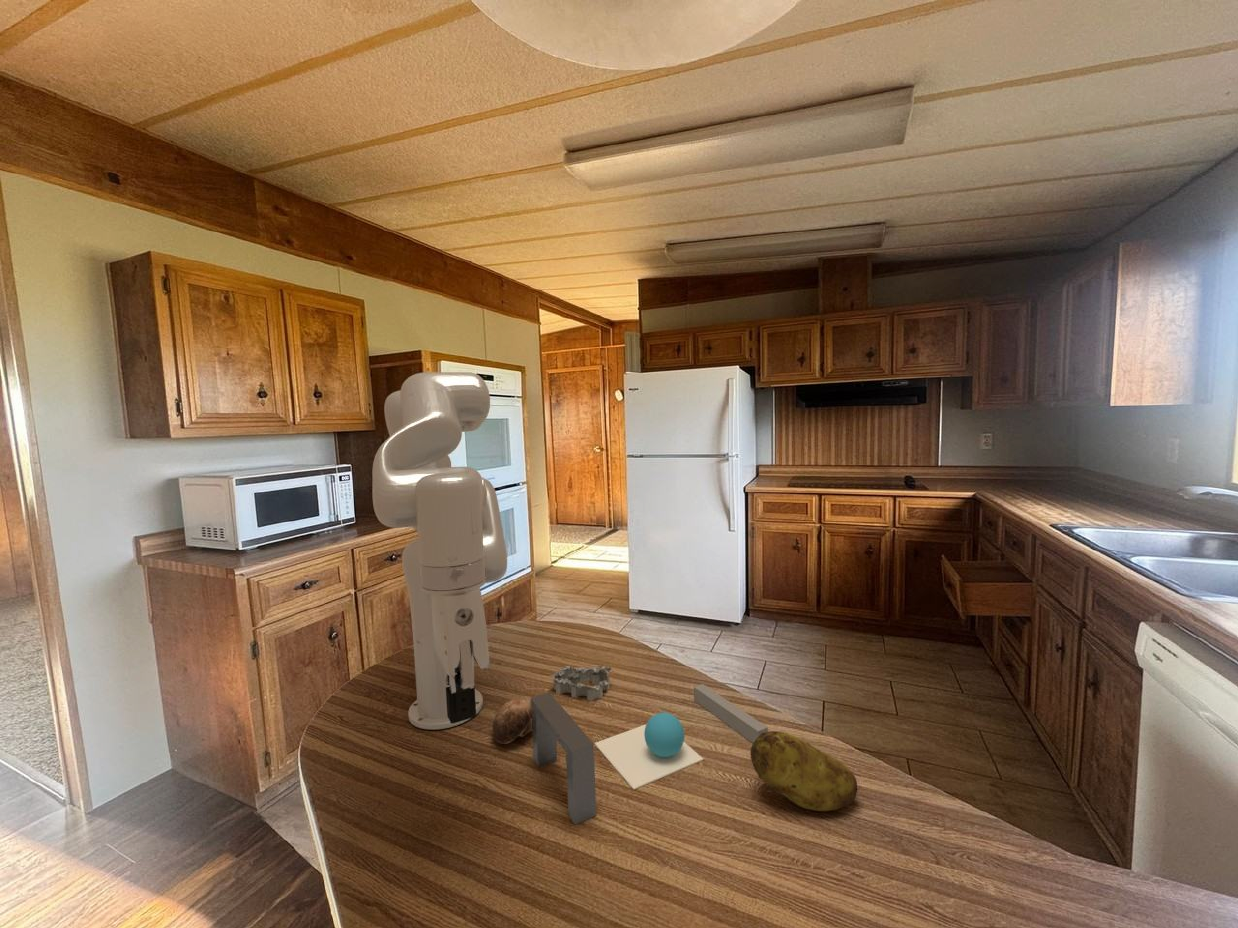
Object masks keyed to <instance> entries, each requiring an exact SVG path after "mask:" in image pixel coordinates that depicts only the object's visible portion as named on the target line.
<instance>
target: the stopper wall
mask: <svg viewBox="0 0 1238 928" xmlns="http://www.w3.org/2000/svg"><path fill="white" fill-rule="evenodd" d="M693 700H694V701H695V702H696V703H697V704H698V705H700V706H701V707H703V708H704V709H705V710H707V711H708V712H709V713H711V714H712V715H714V716H715V717H716V718H718V719H719V720H720V721H722V722H723V723H725V724H726V725H727V726H728V727H730V728H731V729H733V730H734V731H735V732H737V733H738V734H740V735H741V736H742V737H744V738H745V739H747V740H748V741H749V742H751V743H752V744H753V743H754V741H755V740H756V739H757V738H758V737H759V736H760V735H761V733H766V732H769V729H768V728H769V727H768V726H767V725H765V724H764V723H762V722H761V721H759V720H758V719H756V718H754V717H753V716H751V715H750V714H748V713H747V712H745V711H744V710H743V709H741V708H740V707H738V706H736V705H735V704H734V703H732V702H731V701H729V700H727V699H726V698H724V697H723V696H722V695H720V694H719V693H717V692H716V691H715V690H713V689H711V688H710V687H708V686H707V685H705V684H703V683H702V684H698V685H696V686H694V687H693Z"/></svg>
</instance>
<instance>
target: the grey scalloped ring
mask: <svg viewBox="0 0 1238 928" xmlns="http://www.w3.org/2000/svg"><path fill="white" fill-rule="evenodd" d="M611 671H612V668H611V667H608V666H604V665H600V666H597V668H595V667H590V668H588V667H587V668H586V667H585V666H582V667H572V666H570V665H565V666H564V667H561V668H560V669H559V670H557V671H555V672H554V673H553V674H551V675H550V677H551V678H552V679H553V690H554V691H555V694H557V695H562V694H565V693H570V694H571V697H572V698H578V697H579V696H581V697H582V696H584V697H586V698H587V699H586V700H587V701H589V702H590V701H591V702H592V701H594V700H596V699H597V700H598V699H602V698H603V696H604V695H603V692H604V691H609V689H611V685H610V684H611V683H610V681H611V680H610V677H609V675H610V674H611ZM588 681H589V682H590V683H591V684H592V685H593V686H592V687H591V686H588V685H587V684H583V683H584V682H588Z"/></svg>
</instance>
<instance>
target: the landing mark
mask: <svg viewBox="0 0 1238 928" xmlns="http://www.w3.org/2000/svg"><path fill="white" fill-rule="evenodd" d="M645 727H646V724H643V725H640V726H638V727H634V728H632V729H629V730H627V731H624V732H621V733H618V734H616V735H613V736H610V737H608V738H605V739H602V740H599V741H596V742H594V745H595V747H596V748H597V750H599V752H600V753H602V755H603V757H605V758H606V759H607V761H608V762H609V763H610V764H611V765H612V766H613V768H614V769H615V770H616V772H617V773H619V775H620V776H621V777H622V779H624V781H625V782H626V783H627V784H628V785H629V786H630V787H631V789H632V790H637V789H639V788H642V787H644V786H646V785H649V784H651V783H653V782H656V781H658V780H660V779H663V778H665V777H667V776H670V775H672V774H674V773H677V772H680V771H681V770H683V769H686V768H688V767H691V766H693V765H695V764H697V763H699V762H702V761H704V757H702V756H701V755H700V754H699V753H698V752H696V751H695V750H694V748H692V747H690V746H689V745H688V744H687V743H685V741H684V742H683V745H682V747H681V749H680V750H679V751H678V752H677V753H676V754H675V755H673V756H671V757H660V756H657V755H655V754H654V753H653V752H652V751H651V750H650V749H649V748H648V746H647V744H646V741H645V736H644V732H645Z"/></svg>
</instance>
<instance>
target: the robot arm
mask: <svg viewBox="0 0 1238 928" xmlns="http://www.w3.org/2000/svg"><path fill="white" fill-rule="evenodd" d="M400 387H401V388H400V389H399V390H397V391H393V392H392V393H390V394H389V395H388V396H387V397H386V399H385V401H384V407H383V408H384V412H383V413H384V419H385V425H386V428H387V432H388V435H389V437H387V439H386V440H385V441H384V442H383V443H382V444H381V445H380V447H379V448H378V450H377V452H376V454H375V456H374V459H373V462H372V463H373V464H372V473H371V475H372V504H373V511H374V513H375V516H376V518H377V520H378V521H379V522H380V523H381V524H382V525H384V526H385V527H388V528H392V529H393V528H394V529H400V528H411V527H412V529H414V530H415V531H417V538H416V539H414V540H412V541H410V542H409V543H408V544H407V545H406V546H405V547H404V549H403V552H402V557H401V563H402V564H401V566H402V571H403V576H404V579H405V584H406V588H407V593H408V599H409V606H410V616H411V627H412V628H411V631H412V641H413V642H412V643H413V656H414V657H413V658H414V669H415V671H414V673H415V674H414V675H415V686H416V689H415V690H416V699H415V701H414V702H413V703H412V704H411V705H410V706H409V708H408V712H407V713H408V720H409V722H410V724H411V725H413V726H414V727H416V728H419V729H421V730H422V729H423V730H433V731H434V730H444V729H449V728H453V727H456V726H458V725H462V724H464V723H465V722H467V721H470V720H471V719H472V718H475V717H476V716H477V714H479V713H480V711H481V710H482V708H483V706H484V705H483V704H484V699H483V694H482V693H481V692H480V691H479V690H478V689H476V688H475V662H476V664H477V665H478V666H479V668H480V670H488V669H489V667H490V653H489V651H490V650H489V644H488V634H487V622H486V614H485V608H484V601H483V597H482V596H483V595H482V592H481V591H482V590H481V588H482V587H483V586H485V584H490V583H493V582H497V581H499V580H501V579H503V578H504V576H505V575H506V572H507V569H508V555H507V547H506V546H507V545H506V542H505V541H506V540H505V535H504V529H503V523H502V516H501V512H500V508H499V507H500V505H499V501H498V496H497V495H498V494H497V492H496V489H495V487H494V484H492V482H491V481H489V480H488V479H487V478H485V477H482V475H481V473H479V471H478V470H477V469H475V468H474V467H470V466H452V461H451V458H450V456H449V455H450V454H452V453H453V452H454V451H455V450H456V449H457V448H458V447H459V445H460V443H461V440H462V436H463V433H464V432H465V433H466V432H474V431H477V430H478V429H479V428H480V427H481V426H482V424H483V423H484V422H485V421H486V420H487V417H488V415H489V413H490V410H491V409H490V408H491V396H490V390H489V388H488V385H487V383H486V382H485V380H484V378H483V377H481V376H480V375H479V374H476V373H474V372H466V371H465V372H463V371H462V372H461V371H459V372H458V371H457V372H455V371H453V372H451V371H450V372H446V371H445V372H444V371H443V372H441V371H439V372H438V371H437V372H436V371H435V372H433V371H426V372H425V371H424V372H419V373H415V374H412V375H411V376H409V377H408V378H406V379H405V380H404V382H403V383H402V385H401V386H400Z"/></svg>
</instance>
